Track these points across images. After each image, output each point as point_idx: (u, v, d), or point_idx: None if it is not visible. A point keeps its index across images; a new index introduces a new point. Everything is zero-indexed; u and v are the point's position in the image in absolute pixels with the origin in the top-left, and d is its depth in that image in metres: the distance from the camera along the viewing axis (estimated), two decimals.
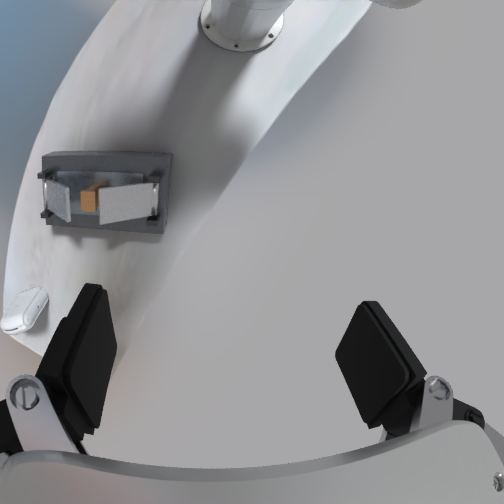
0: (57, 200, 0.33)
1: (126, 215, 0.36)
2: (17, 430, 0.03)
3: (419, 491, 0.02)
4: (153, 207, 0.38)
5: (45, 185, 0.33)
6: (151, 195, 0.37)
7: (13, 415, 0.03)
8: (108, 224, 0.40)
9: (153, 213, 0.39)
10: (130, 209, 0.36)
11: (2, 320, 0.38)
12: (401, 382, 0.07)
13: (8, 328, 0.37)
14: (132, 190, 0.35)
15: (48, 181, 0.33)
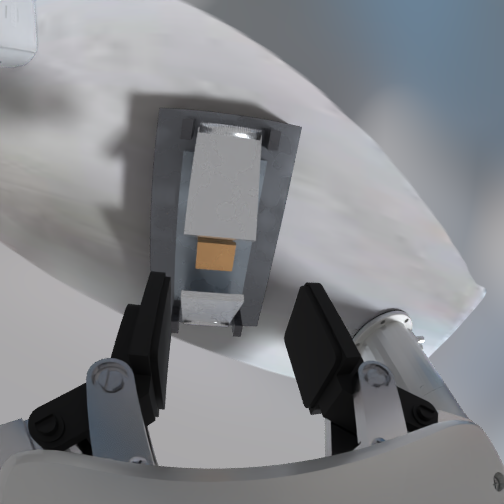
0: (225, 192, 0.20)
1: (189, 311, 0.25)
2: (89, 408, 0.04)
3: (419, 491, 0.02)
4: (195, 323, 0.28)
5: (249, 138, 0.20)
6: (212, 322, 0.28)
7: (90, 393, 0.05)
8: (159, 247, 0.25)
9: (186, 323, 0.28)
10: (197, 313, 0.25)
11: None
12: (332, 364, 0.07)
13: None
14: (226, 315, 0.26)
15: (258, 153, 0.20)
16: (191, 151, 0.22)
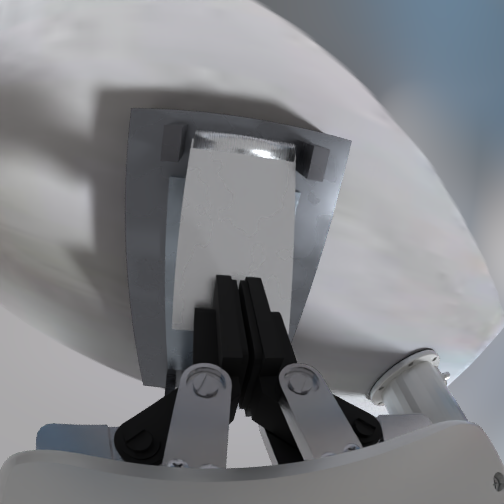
0: (239, 255, 0.12)
1: None
2: (176, 408, 0.05)
3: (419, 490, 0.02)
4: None
5: (276, 158, 0.13)
6: None
7: (180, 393, 0.05)
8: (142, 310, 0.18)
9: None
10: None
11: None
12: (253, 363, 0.07)
13: None
14: None
15: (292, 185, 0.13)
16: (182, 176, 0.14)
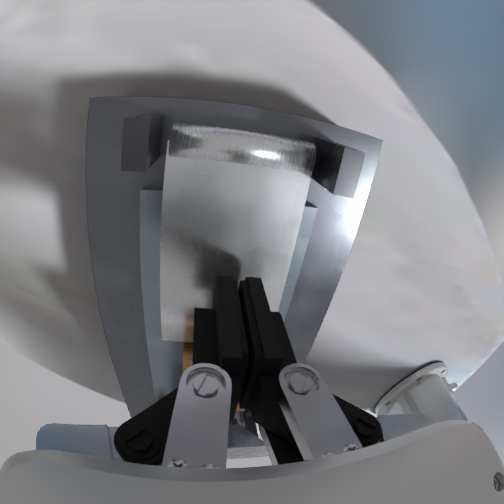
0: None
1: None
2: (176, 407, 0.05)
3: (419, 491, 0.02)
4: None
5: (286, 170, 0.09)
6: None
7: (180, 393, 0.05)
8: (122, 347, 0.14)
9: None
10: None
11: None
12: (253, 363, 0.07)
13: None
14: None
15: (300, 206, 0.10)
16: (158, 188, 0.10)
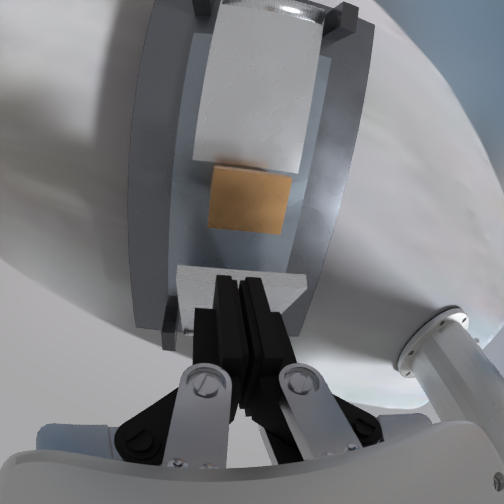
0: (260, 98, 0.11)
1: (193, 312, 0.13)
2: (176, 407, 0.05)
3: (419, 491, 0.02)
4: None
5: (305, 18, 0.09)
6: None
7: (180, 393, 0.05)
8: (142, 201, 0.14)
9: (188, 334, 0.17)
10: None
11: None
12: (253, 363, 0.07)
13: None
14: None
15: (317, 44, 0.10)
16: (206, 35, 0.10)
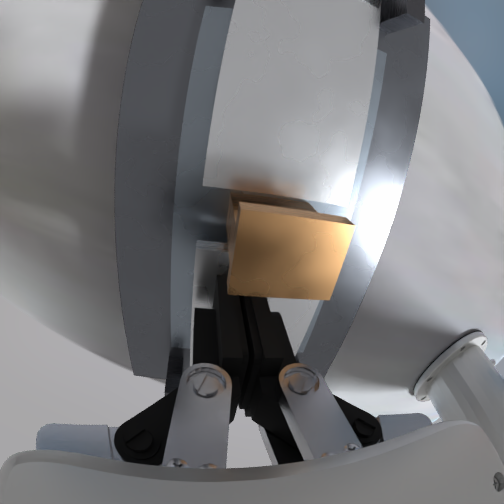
0: (301, 98, 0.08)
1: None
2: (176, 408, 0.05)
3: (419, 490, 0.02)
4: None
5: None
6: None
7: (180, 393, 0.05)
8: (134, 235, 0.11)
9: None
10: None
11: None
12: (252, 363, 0.07)
13: None
14: None
15: (374, 32, 0.07)
16: (223, 10, 0.07)
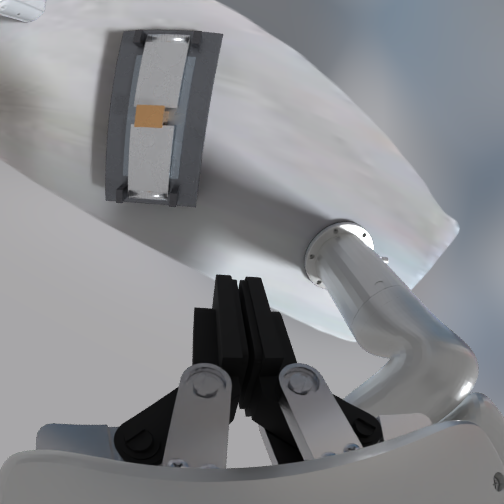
0: (160, 79, 0.25)
1: (134, 158, 0.28)
2: (175, 408, 0.05)
3: (419, 491, 0.02)
4: (137, 192, 0.31)
5: (180, 42, 0.23)
6: (152, 190, 0.31)
7: (180, 393, 0.05)
8: (114, 128, 0.28)
9: (130, 192, 0.30)
10: (140, 163, 0.29)
11: None
12: (253, 363, 0.07)
13: None
14: (163, 167, 0.30)
15: (185, 52, 0.24)
16: (142, 55, 0.24)
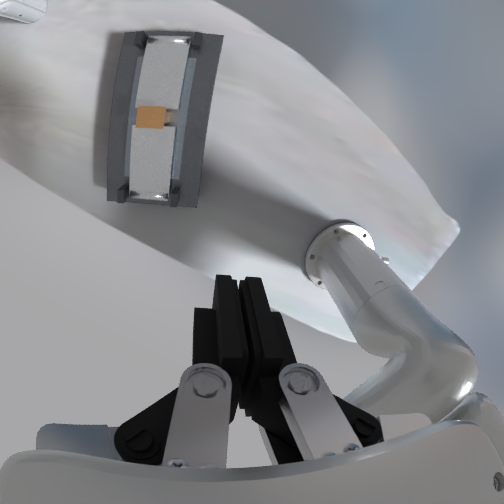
0: (161, 80, 0.25)
1: (135, 158, 0.29)
2: (175, 408, 0.05)
3: (419, 490, 0.02)
4: (139, 193, 0.31)
5: (181, 43, 0.23)
6: (154, 191, 0.31)
7: (180, 393, 0.05)
8: (116, 129, 0.28)
9: (132, 193, 0.31)
10: (141, 164, 0.29)
11: None
12: (253, 363, 0.07)
13: None
14: (164, 167, 0.30)
15: (186, 53, 0.24)
16: (143, 57, 0.24)
